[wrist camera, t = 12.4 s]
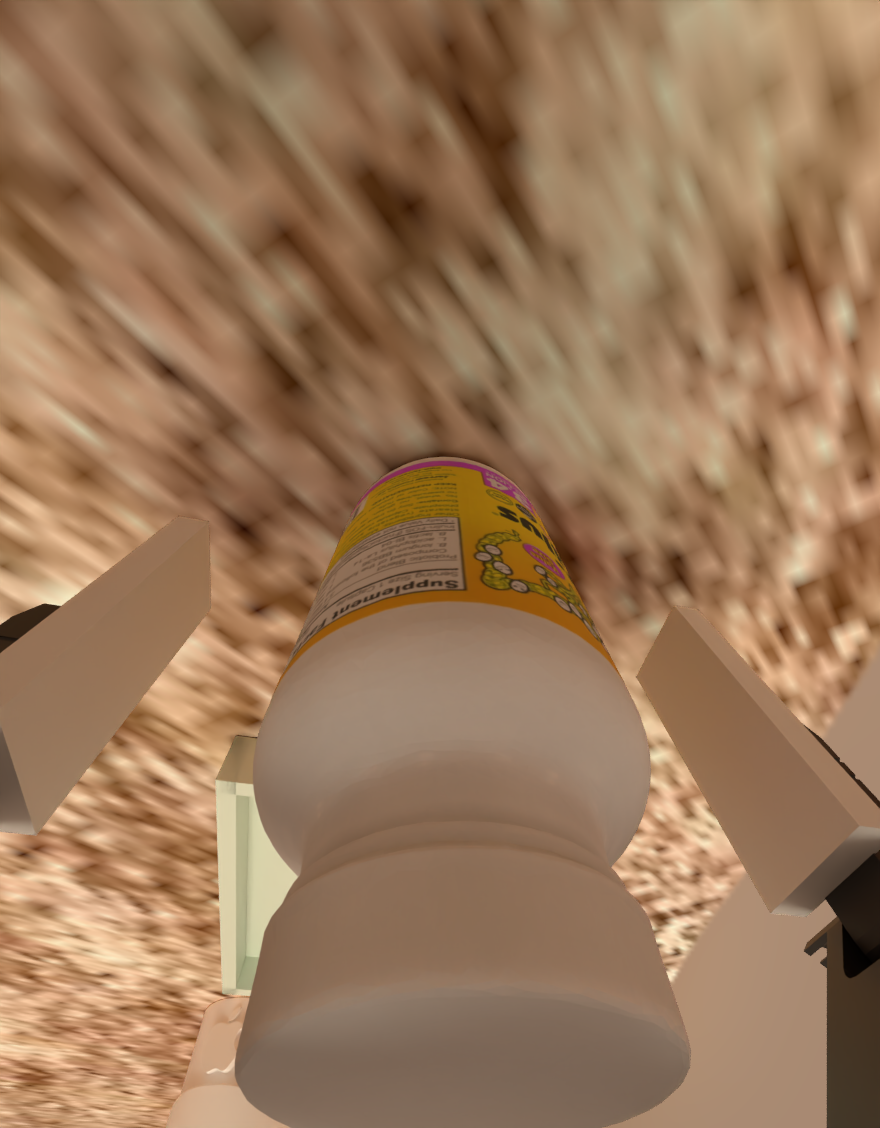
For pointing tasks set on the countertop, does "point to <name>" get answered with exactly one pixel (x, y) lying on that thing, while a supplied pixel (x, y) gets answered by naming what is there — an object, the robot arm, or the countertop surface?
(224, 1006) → the mug
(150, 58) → the countertop surface
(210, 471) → the countertop surface
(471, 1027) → the supplement bottle
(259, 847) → the tray
